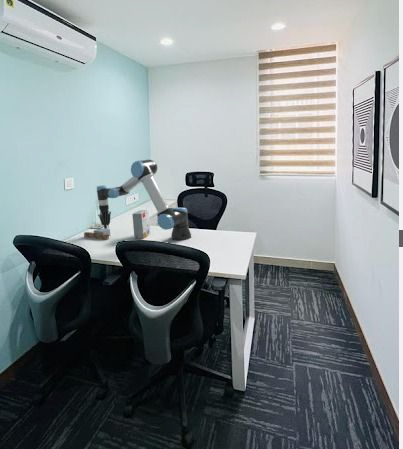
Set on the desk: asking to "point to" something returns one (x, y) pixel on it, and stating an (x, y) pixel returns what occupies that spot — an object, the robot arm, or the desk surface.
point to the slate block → (102, 231)
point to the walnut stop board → (96, 235)
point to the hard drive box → (141, 224)
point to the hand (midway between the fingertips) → (107, 232)
